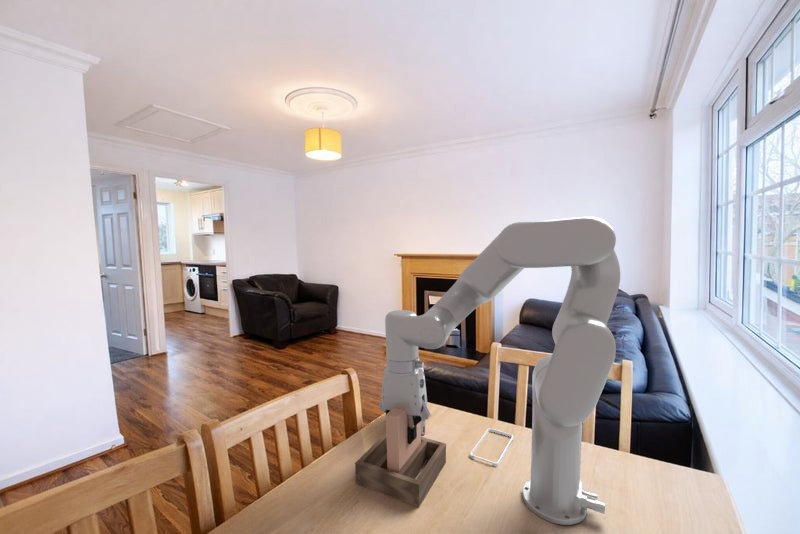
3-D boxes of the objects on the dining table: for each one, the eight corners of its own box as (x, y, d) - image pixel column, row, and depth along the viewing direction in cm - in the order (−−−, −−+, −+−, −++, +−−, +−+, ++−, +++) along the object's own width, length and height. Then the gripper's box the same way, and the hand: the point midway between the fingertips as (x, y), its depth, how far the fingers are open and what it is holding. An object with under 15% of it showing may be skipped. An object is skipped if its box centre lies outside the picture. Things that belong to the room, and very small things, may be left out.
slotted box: (445, 462, 89) (446, 443, 89) (419, 507, 75) (419, 484, 74) (389, 445, 97) (389, 428, 96) (355, 483, 82) (355, 462, 82)
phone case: (488, 431, 104) (469, 459, 91) (488, 427, 104) (469, 454, 91) (514, 439, 100) (497, 469, 88) (514, 434, 100) (497, 463, 87)
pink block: (421, 449, 90) (419, 395, 89) (399, 478, 79) (397, 417, 78) (410, 446, 91) (409, 393, 90) (387, 474, 81) (385, 415, 79)
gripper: (441, 363, 83) (442, 439, 84) (380, 354, 90) (382, 424, 92) (428, 375, 76) (430, 456, 78) (364, 364, 84) (367, 439, 85)
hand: (404, 438), depth 85 cm, fingers closed on pink block, 3 cm apart
